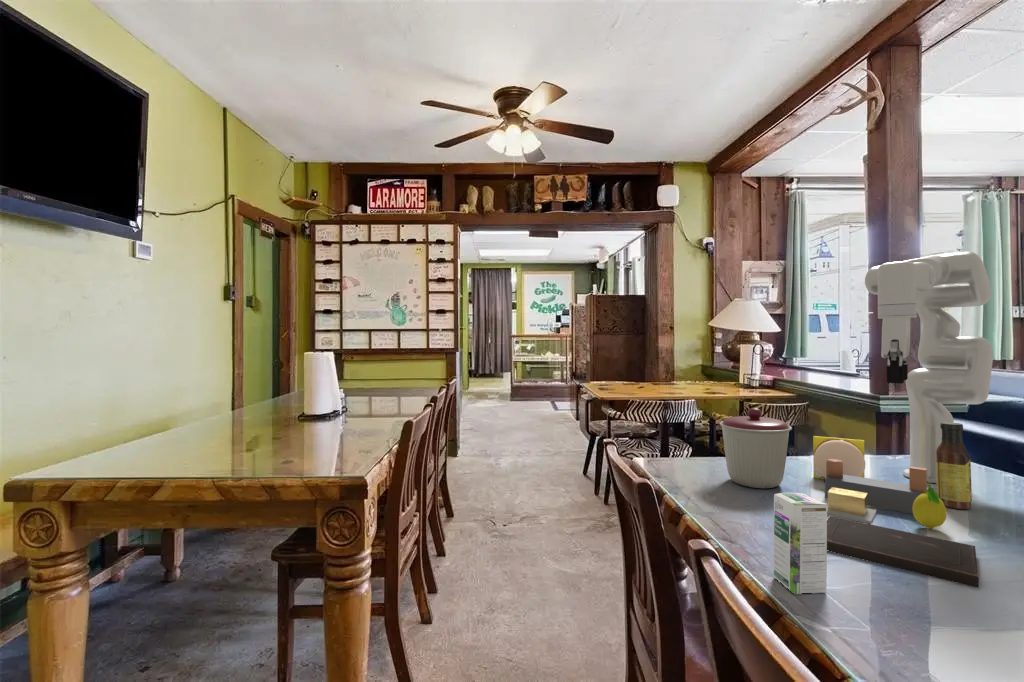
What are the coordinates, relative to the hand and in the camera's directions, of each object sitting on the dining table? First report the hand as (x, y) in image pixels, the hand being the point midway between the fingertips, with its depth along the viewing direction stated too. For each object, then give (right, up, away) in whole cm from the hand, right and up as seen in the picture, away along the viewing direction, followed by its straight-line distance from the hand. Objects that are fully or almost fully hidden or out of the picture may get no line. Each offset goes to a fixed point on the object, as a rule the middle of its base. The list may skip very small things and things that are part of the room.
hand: (897, 381), depth 121 cm
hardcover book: (-23, -31, -28) cm, 48 cm away
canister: (-28, -30, +15) cm, 44 cm away
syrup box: (-48, -31, -40) cm, 70 cm away
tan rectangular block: (-18, -29, -7) cm, 35 cm away
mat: (-18, -30, -8) cm, 35 cm away
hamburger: (-4, -30, +16) cm, 34 cm away
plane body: (-6, -30, -1) cm, 31 cm away
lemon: (-7, -30, -18) cm, 36 cm away
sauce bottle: (+11, -30, -4) cm, 32 cm away
